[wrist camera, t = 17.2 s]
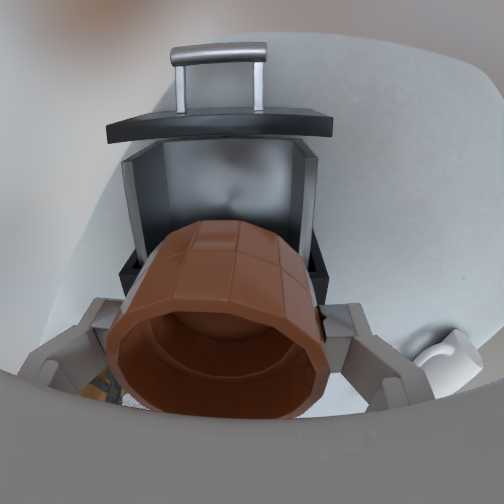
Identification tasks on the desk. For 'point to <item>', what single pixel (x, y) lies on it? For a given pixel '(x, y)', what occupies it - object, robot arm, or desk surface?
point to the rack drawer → (221, 160)
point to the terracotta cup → (221, 327)
